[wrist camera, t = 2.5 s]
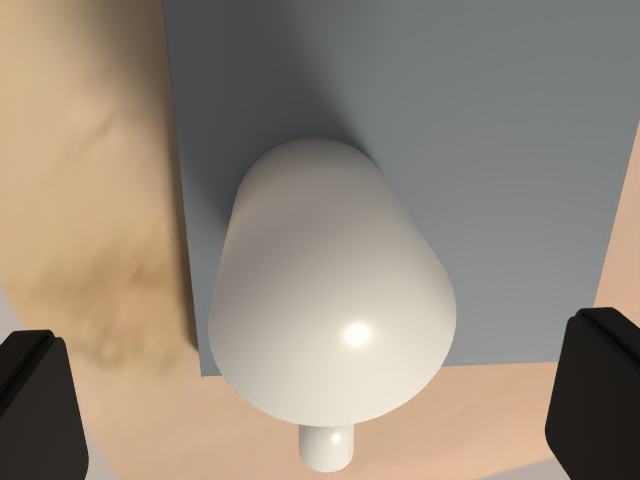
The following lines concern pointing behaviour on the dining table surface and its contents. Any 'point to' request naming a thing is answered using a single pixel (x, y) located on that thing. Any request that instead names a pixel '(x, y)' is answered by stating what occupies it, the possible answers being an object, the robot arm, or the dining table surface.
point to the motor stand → (426, 137)
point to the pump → (326, 296)
